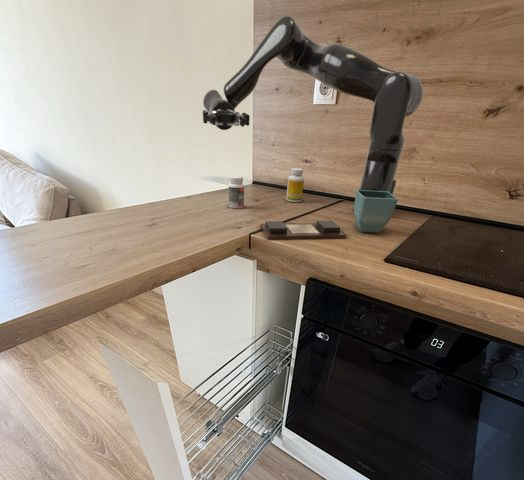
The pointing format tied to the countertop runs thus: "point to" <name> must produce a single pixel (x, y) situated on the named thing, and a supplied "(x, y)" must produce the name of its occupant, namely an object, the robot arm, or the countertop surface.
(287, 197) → the supplement bottle
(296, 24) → the robot arm
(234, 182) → the pill bottle
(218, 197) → the countertop surface
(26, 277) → the countertop surface
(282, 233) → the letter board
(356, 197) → the flower pot
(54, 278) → the countertop surface
